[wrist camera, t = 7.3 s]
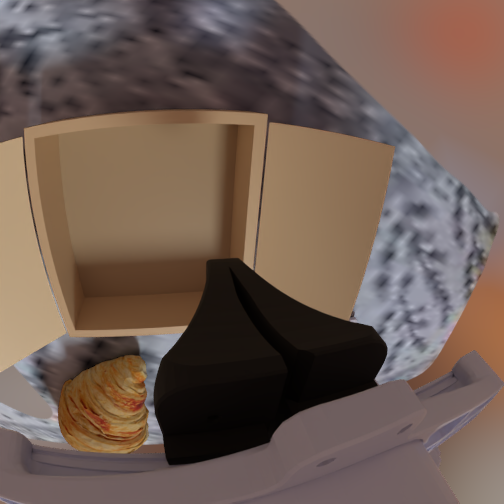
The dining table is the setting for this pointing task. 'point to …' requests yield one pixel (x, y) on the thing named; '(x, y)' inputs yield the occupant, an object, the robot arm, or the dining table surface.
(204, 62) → the dining table surface
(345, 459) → the robot arm
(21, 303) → the flap
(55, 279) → the carton
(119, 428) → the croissant
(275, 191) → the flap
